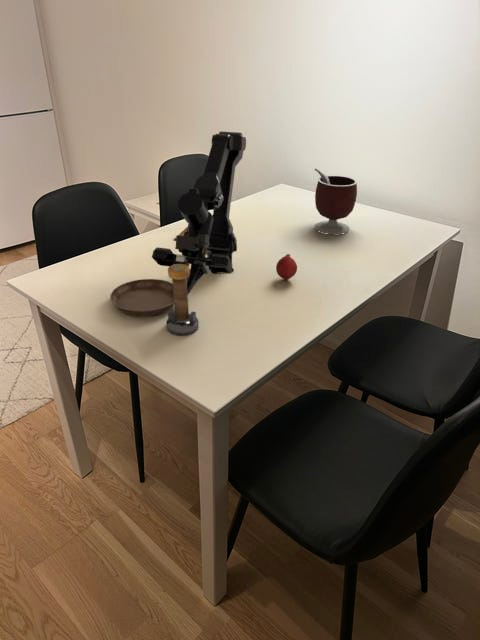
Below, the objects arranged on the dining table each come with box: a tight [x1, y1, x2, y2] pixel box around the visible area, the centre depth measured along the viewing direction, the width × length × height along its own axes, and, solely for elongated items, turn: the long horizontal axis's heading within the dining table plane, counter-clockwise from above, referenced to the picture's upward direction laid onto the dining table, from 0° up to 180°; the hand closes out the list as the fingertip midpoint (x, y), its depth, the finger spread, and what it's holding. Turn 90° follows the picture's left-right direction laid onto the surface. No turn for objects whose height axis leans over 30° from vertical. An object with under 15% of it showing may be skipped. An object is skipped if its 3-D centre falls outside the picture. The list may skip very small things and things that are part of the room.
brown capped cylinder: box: [167, 264, 191, 321], centre depth 113 cm, size 5×5×13 cm
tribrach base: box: [165, 308, 199, 337], centre depth 117 cm, size 8×8×4 cm
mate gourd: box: [314, 167, 358, 234], centre depth 171 cm, size 16×14×20 cm
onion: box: [275, 253, 298, 281], centre depth 138 cm, size 6×6×8 cm
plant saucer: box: [110, 278, 174, 317], centre depth 127 cm, size 18×18×3 cm
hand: (185, 294), depth 117 cm, fingers closed
